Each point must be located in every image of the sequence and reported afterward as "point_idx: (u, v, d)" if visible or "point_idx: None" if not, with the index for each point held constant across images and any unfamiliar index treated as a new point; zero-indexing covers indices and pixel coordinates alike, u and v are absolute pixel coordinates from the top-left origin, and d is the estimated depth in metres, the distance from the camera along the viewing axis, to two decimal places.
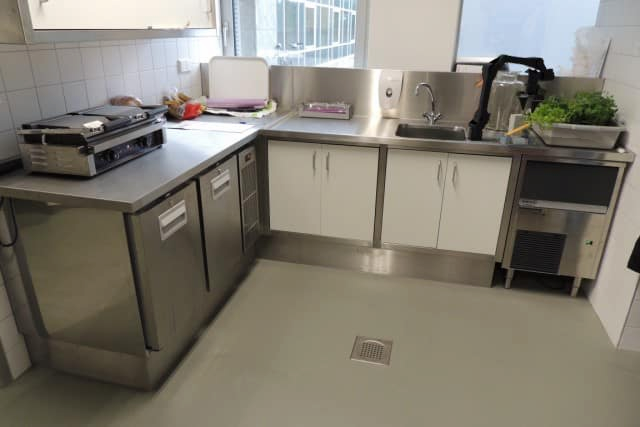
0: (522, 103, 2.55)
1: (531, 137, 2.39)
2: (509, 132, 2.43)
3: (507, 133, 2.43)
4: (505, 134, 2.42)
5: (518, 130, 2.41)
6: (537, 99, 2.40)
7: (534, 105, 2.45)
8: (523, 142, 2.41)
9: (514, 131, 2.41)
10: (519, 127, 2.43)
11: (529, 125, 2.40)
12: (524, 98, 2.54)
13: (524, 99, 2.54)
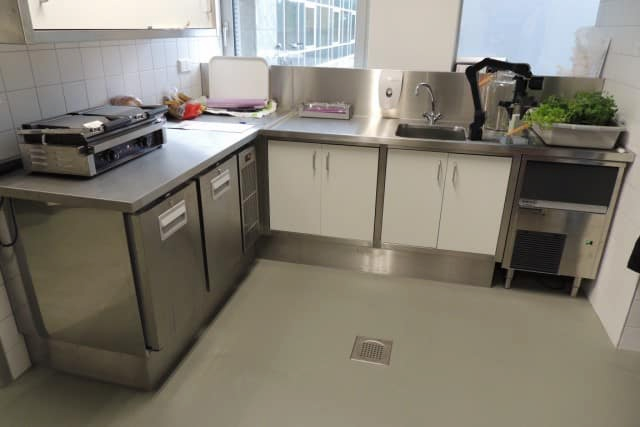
0: (520, 112, 2.40)
1: (531, 137, 2.39)
2: (509, 132, 2.43)
3: (507, 133, 2.43)
4: (505, 134, 2.42)
5: (518, 130, 2.41)
6: (499, 104, 2.37)
7: (509, 112, 2.38)
8: (523, 142, 2.41)
9: (514, 131, 2.41)
10: (519, 127, 2.43)
11: (529, 125, 2.40)
12: (523, 107, 2.38)
13: (522, 108, 2.38)
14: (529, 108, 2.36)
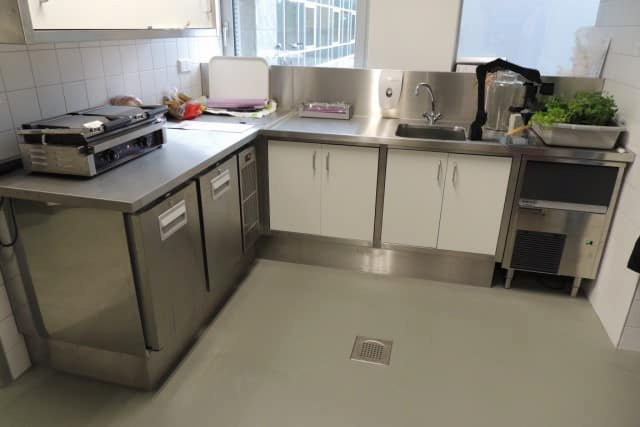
0: None
1: (531, 137, 2.39)
2: (509, 132, 2.43)
3: (507, 133, 2.43)
4: (505, 134, 2.42)
5: (518, 130, 2.41)
6: (509, 110, 2.39)
7: (523, 117, 2.40)
8: (523, 142, 2.41)
9: (514, 131, 2.41)
10: (519, 127, 2.43)
11: (529, 125, 2.40)
12: None
13: None
14: None
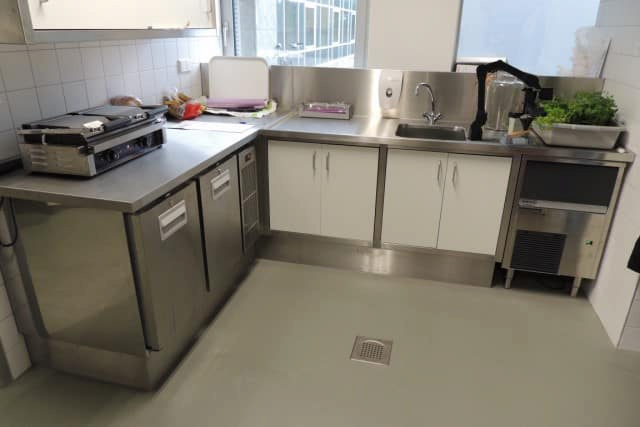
0: None
1: (531, 137, 2.39)
2: (509, 133, 2.43)
3: None
4: (505, 134, 2.42)
5: (518, 133, 2.41)
6: (509, 115, 2.40)
7: (523, 122, 2.41)
8: (523, 142, 2.41)
9: (514, 133, 2.42)
10: (520, 131, 2.44)
11: (530, 131, 2.42)
12: (528, 118, 2.41)
13: (528, 119, 2.41)
14: None
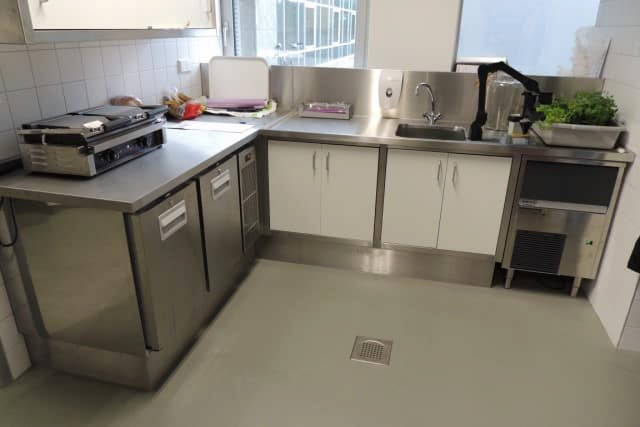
0: None
1: (531, 137, 2.39)
2: None
3: None
4: (505, 134, 2.42)
5: (518, 135, 2.42)
6: (508, 119, 2.41)
7: (522, 126, 2.42)
8: (523, 142, 2.41)
9: (514, 135, 2.42)
10: (520, 134, 2.44)
11: None
12: None
13: (527, 123, 2.41)
14: None
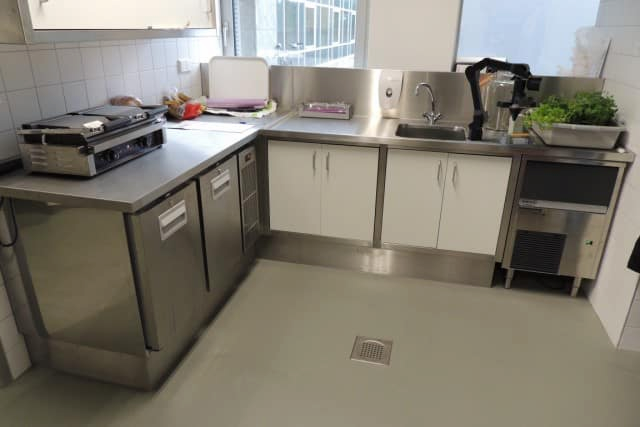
0: None
1: (531, 137, 2.39)
2: None
3: None
4: (505, 134, 2.42)
5: (518, 135, 2.42)
6: (497, 105, 2.35)
7: (512, 112, 2.36)
8: (523, 142, 2.41)
9: (514, 135, 2.42)
10: (520, 134, 2.44)
11: None
12: (517, 108, 2.36)
13: None
14: None
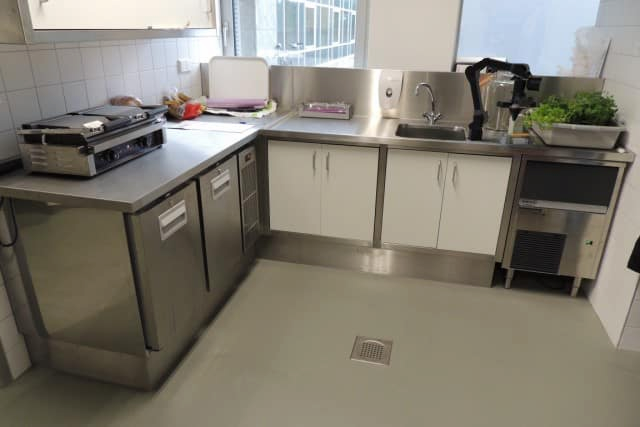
0: None
1: (531, 137, 2.39)
2: None
3: None
4: (505, 134, 2.42)
5: (518, 135, 2.42)
6: (497, 105, 2.35)
7: (512, 112, 2.36)
8: (523, 142, 2.41)
9: (514, 135, 2.42)
10: (520, 134, 2.44)
11: None
12: (517, 108, 2.36)
13: None
14: None
